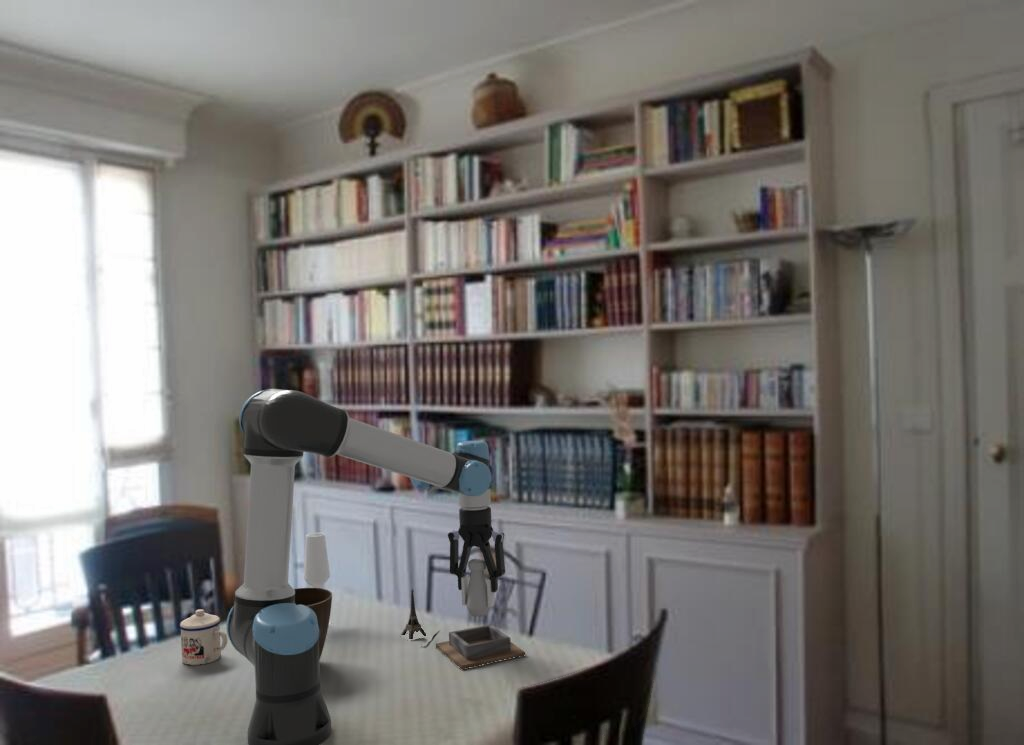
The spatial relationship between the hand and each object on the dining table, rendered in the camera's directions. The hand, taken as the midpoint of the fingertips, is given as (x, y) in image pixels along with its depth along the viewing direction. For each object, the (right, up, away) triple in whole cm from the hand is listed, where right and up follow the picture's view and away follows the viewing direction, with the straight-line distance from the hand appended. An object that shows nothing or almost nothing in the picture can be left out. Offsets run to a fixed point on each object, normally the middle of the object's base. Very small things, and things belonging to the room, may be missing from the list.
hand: (478, 604), depth 192 cm
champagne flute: (-43, -12, +23) cm, 51 cm away
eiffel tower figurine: (-16, -12, +12) cm, 24 cm away
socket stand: (0, -11, 0) cm, 11 cm away
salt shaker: (0, -3, 0) cm, 3 cm away
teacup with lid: (-65, -14, +1) cm, 66 cm away
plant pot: (-40, -13, -5) cm, 43 cm away
